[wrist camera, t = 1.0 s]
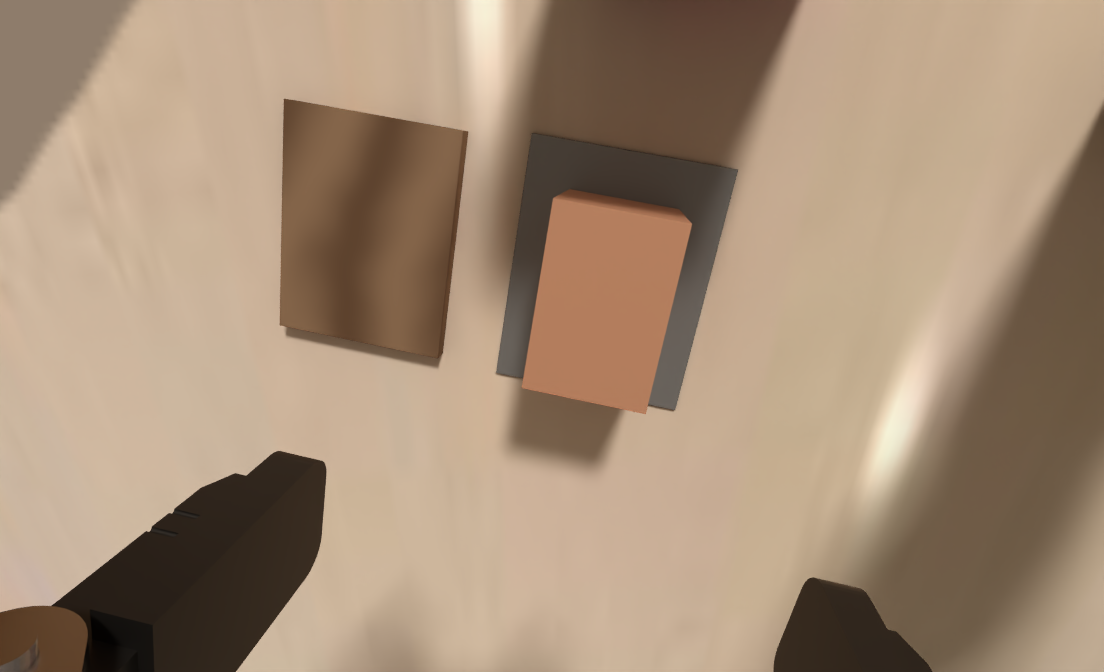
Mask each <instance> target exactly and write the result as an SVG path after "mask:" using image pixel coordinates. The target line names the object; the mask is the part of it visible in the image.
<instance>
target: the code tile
mask: <svg viewBox="0 0 1104 672" xmlns="http://www.w3.org/2000/svg"><path fill="white" fill-rule="evenodd" d="M737 172H738V170H737V169H731V168H726V167H720V166H714V165H709V164H703V163H698V162H692V161H686V160H681V159H675V158H669V157H664V156H658V155H653V154H647V153H641V152H636V151H630V150H624V149H619V148H613V147H608V146H602V145H596V144H591V143H585V142H580V141H574V140H568V139H563V138H557V137H551V136H546V135H540V134H535V133H532V136H531V143H530V149H529V156H528V163H527V169H526V176H525V183H524V190H523V196H522V203H521V210H520V216H519V223H518V230H517V237H516V243H515V250H514V257H513V263H512V270H511V277H510V284H509V290H508V297H507V304H506V311H505V317H504V324H503V331H502V337H501V344H500V351H499V358H498V364H497V371H496V373H500V374H505V375H510V376H515V377H519V378H523V377H524V371H525V365H526V359H527V353H528V347H529V341H530V335H531V329H532V323H533V317H534V311H535V305H536V299H537V292H538V286H539V280H540V274H541V268H542V262H543V256H544V250H545V244H546V238H547V232H548V226H549V220H550V214H551V208H552V202H553V198H554V197H556V196H558V195H560V194H562V193H563V192H565V191H567V190H569V189H572V190H578V191H583V192H588V193H594V194H599V195H605V196H610V197H616V198H621V199H626V200H632V201H637V202H643V203H648V204H654V205H659V206H664V207H670V208H675V209H679V210H680V211H681V212H682V213H683V214H684V215H685V216H686V218H687V219H688V220H689V221H690V222H691V223H692V227H691V231H690V235H689V239H688V243H687V247H686V251H685V255H684V259H683V264H682V268H681V272H680V276H679V280H678V284H677V288H676V292H675V296H674V300H673V304H672V308H671V313H670V317H669V321H668V325H667V329H666V333H665V337H664V341H663V345H662V349H661V353H660V358H659V362H658V366H657V370H656V374H655V378H654V382H653V386H652V390H651V394H650V398H649V402H648V405H653V406H658V407H663V408H668V409H672V410H675V408H676V405H677V401H678V397H679V393H680V389H681V386H682V382H683V378H684V374H685V370H686V366H687V363H688V359H689V355H690V351H691V347H692V344H693V340H694V336H695V332H696V328H697V324H698V321H699V317H700V313H701V309H702V305H703V302H704V298H705V294H706V290H707V286H708V283H709V279H710V275H711V271H712V267H713V263H714V260H715V256H716V252H717V248H718V244H719V241H720V237H721V233H722V229H723V225H724V222H725V218H726V214H727V210H728V206H729V202H730V199H731V195H732V191H733V187H734V183H735V180H736V176H737Z"/></svg>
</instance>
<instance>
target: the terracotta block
mask: <svg viewBox="0 0 1104 672" xmlns="http://www.w3.org/2000/svg"><path fill="white" fill-rule="evenodd" d="M691 227H692V223H691V222H690V221H689V220H688V219H687V218H686V216H685V215H684V214H683V213H682V212H681V211H680V210H679V209H675V208H670V207H664V206H659V205H654V204H648V203H643V202H637V201H632V200H626V199H621V198H616V197H610V196H605V195H599V194H594V193H588V192H583V191H578V190H572V189H569V190H567V191H565V192H563V193H562V194H560V195H558V196H556V197H554V198H553V202H552V208H551V214H550V220H549V226H548V232H547V238H546V244H545V250H544V256H543V262H542V268H541V274H540V280H539V286H538V292H537V299H536V305H535V311H534V317H533V323H532V329H531V335H530V341H529V347H528V353H527V359H526V365H525V371H524V377H523V383H522V388H524V389H529V390H533V391H538V392H543V393H548V394H552V395H557V396H562V397H567V398H571V399H576V400H581V401H586V402H591V403H595V404H600V405H605V406H610V407H614V408H619V409H624V410H629V411H633V412H638V413H643V414H646V411H647V407H648V402H649V398H650V394H651V390H652V386H653V382H654V378H655V374H656V370H657V366H658V362H659V358H660V353H661V349H662V345H663V341H664V337H665V333H666V329H667V325H668V321H669V317H670V313H671V308H672V304H673V300H674V296H675V292H676V288H677V284H678V280H679V276H680V272H681V268H682V264H683V259H684V255H685V251H686V247H687V243H688V239H689V235H690V231H691Z"/></svg>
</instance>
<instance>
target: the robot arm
mask: <svg viewBox="0 0 1104 672" xmlns="http://www.w3.org/2000/svg"><path fill="white" fill-rule="evenodd" d="M325 485H326V466H325V463H324V462H323V461H320V460H316V459H311V458H307V457H303V456H299V455H294V454H290V453H286V452H282V451H277V452H274V453H273V454H271V455H270V456H269V457H268V458H267V459H265V460H264V461H263V462H262V463H261V464H260V465H258V466H257V467H256V468H255V469H254V470H253V471H251V472H250V473H249V474H248V475H247V476H244V475H240V474H236V473H235V474H233V475H230V476H228V477H226V478H223V479H221V480H219V481H216V482H214V483H211V484H209V485H207V486H204V487H202V488H200V489H199V490H198V491H196V492H195V493H194V494H193V495H191V496H190V497H189V498H188V499H186V500H185V501H184V502H183V503H181V504H180V505H179V506H177V507H176V508H175V509H174V512H173V513H172V514H171V513H169V514H167V515H166V516H165V517H164V518H162V519H161V520H160V521H158V522H157V523H156V524H155V525H153V526H152V529H151V531H150V532H147V531H146V532H145V533H143V534H142V535H141V536H139V537H138V538H137V539H136V540H134V541H133V542H132V543H131V544H129V545H128V546H127V547H126V548H124V549H123V550H122V551H120V552H119V553H118V554H117V555H115V556H114V557H113V558H112V559H110V560H109V561H108V562H106V563H105V564H104V565H103V566H101V567H100V568H99V569H98V570H96V571H95V572H94V573H93V574H91V575H90V576H89V577H87V578H86V579H85V580H84V581H82V582H81V583H80V584H79V585H77V586H76V587H75V588H74V589H72V590H71V591H70V592H68V593H67V594H66V595H65V596H63V597H62V598H61V599H60V600H58V601H57V602H56V603H55V604H53V605H52V606H30V607H23V608H17V609H12V610H8V611H4V612H0V672H236V671H237V669H238V668H239V667H240V665H241V664H242V663H243V661H244V660H245V659H246V657H247V656H248V655H249V653H250V652H251V651H252V649H253V648H254V647H255V645H256V644H257V643H258V641H259V640H260V639H261V637H262V636H263V635H264V633H265V632H266V631H267V629H268V628H269V627H270V625H271V624H272V623H273V621H274V620H275V619H276V617H277V616H278V615H279V613H280V612H281V611H282V609H283V608H284V607H285V605H286V604H287V603H288V601H289V600H290V598H291V597H292V596H293V594H294V593H295V592H296V590H297V589H298V588H299V586H300V585H301V584H302V582H303V581H304V580H305V578H306V577H307V575H308V574H309V572H310V570H311V568H312V566H313V564H314V562H315V559H316V557H317V554H318V551H319V547H320V543H321V536H322V523H323V511H324V498H325ZM774 672H932V670H931V669H930V667H929V665H928V664H927V663H926V662H925V661H924V660H923V659H922V658H921V657H920V655H919V654H918V653H917V652H916V651H915V650H914V649H913V648H912V647H911V646H910V645H909V644H908V643H907V642H906V641H905V640H904V639H903V638H902V637H901V636H900V635H899V634H898V633H897V632H895V631H891V630H887V628H886V626H885V624H884V623H883V621H882V619H881V617H880V615H879V614H878V612H877V610H876V608H875V607H874V605H873V603H872V601H871V600H870V598H869V596H868V595H867V593H866V592H865V591H864V590H862V589H860V588H856V587H851V586H847V585H843V584H838V583H834V582H830V581H826V580H821V579H817V578H810V579H808V580H807V581H806V582H805V583H804V585H803V587H802V589H801V592H800V594H799V597H798V599H797V601H796V604H795V606H794V609H793V611H792V614H791V616H790V619H789V621H788V624H787V626H786V629H785V631H784V633H783V636H782V638H781V641H780V643H779V646H778V648H777V651H776V655H775V660H774Z"/></svg>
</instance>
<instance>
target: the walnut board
mask: <svg viewBox="0 0 1104 672" xmlns="http://www.w3.org/2000/svg"><path fill="white" fill-rule="evenodd" d="M467 137H468V131H462V130H457V129H451V128H445V127H440V126H434V125H429V124H423V123H417V122H412V121H406V120H401V119H395V118H390V117H384V116H378V115H373V114H367V113H362V112H356V111H350V110H345V109H339V108H334V107H328V106H323V105H317V104H311V103H306V102H300V101H295V100H289V99H284V122H283V177H282V232H281V287H280V325H281V326H286V327H291V328H295V329H300V330H305V331H310V332H315V333H319V334H324V335H329V336H334V337H339V338H343V339H348V340H353V341H358V342H362V343H367V344H372V345H377V346H382V347H386V348H391V349H396V350H401V351H406V352H410V353H415V354H420V355H425V356H429V357H434V358H438V357H439V356H440V355H441V354H442V353H443V346H444V337H445V328H446V320H447V311H448V302H449V294H450V285H451V276H452V268H453V259H454V250H455V242H456V233H457V224H458V215H459V207H460V198H461V189H462V181H463V172H464V163H465V155H466V146H467Z"/></svg>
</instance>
